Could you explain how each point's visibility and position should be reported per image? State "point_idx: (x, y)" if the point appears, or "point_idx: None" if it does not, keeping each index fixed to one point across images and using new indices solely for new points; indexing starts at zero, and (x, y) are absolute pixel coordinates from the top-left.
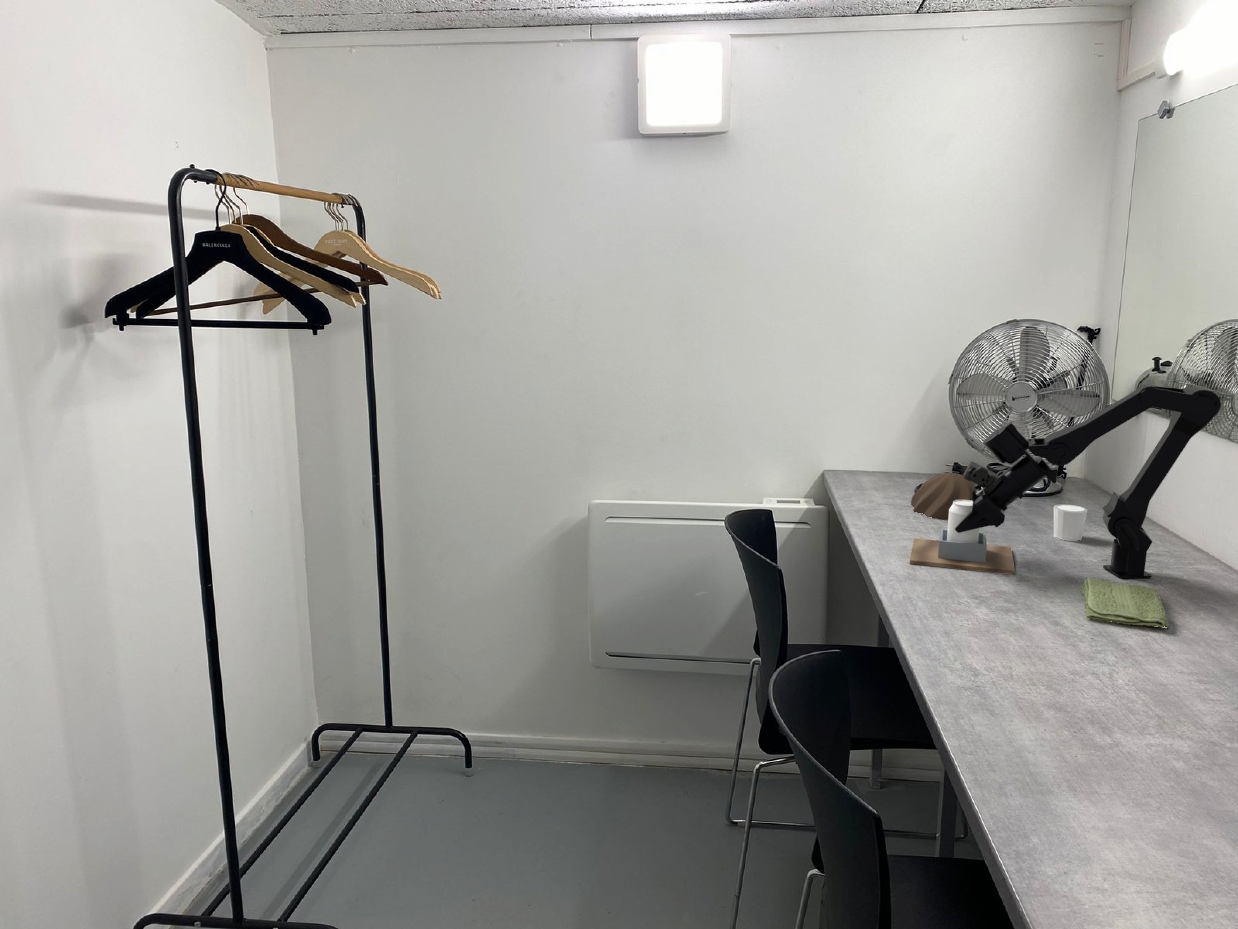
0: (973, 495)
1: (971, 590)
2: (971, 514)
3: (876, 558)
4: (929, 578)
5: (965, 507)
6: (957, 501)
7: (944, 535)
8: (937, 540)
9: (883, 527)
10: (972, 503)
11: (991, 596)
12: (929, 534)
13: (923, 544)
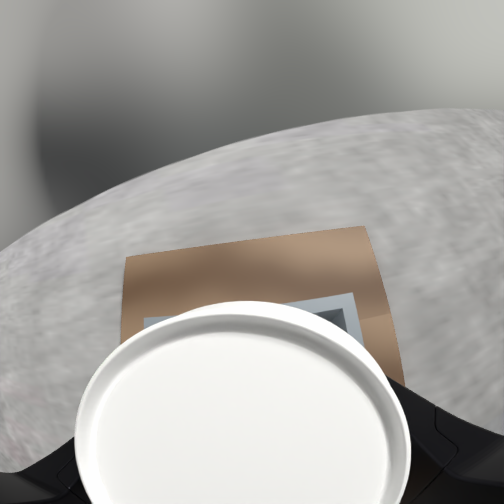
0: (501, 496)
1: (16, 408)
2: (37, 472)
3: (157, 185)
4: (47, 322)
5: (90, 460)
6: (315, 362)
7: (338, 322)
8: (386, 296)
9: (421, 156)
10: (2, 501)
11: (8, 439)
12: (452, 257)
13: (313, 263)
